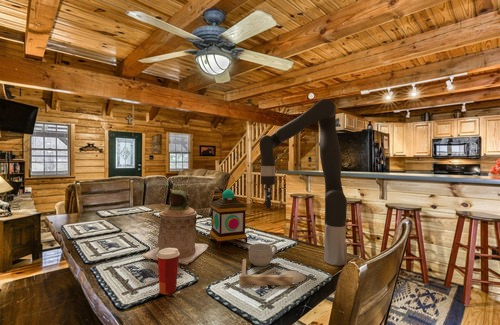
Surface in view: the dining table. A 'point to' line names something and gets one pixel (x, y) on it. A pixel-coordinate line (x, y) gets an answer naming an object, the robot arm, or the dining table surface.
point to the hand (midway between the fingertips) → (267, 206)
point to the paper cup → (168, 270)
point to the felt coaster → (295, 276)
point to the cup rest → (264, 278)
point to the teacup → (261, 254)
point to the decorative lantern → (228, 219)
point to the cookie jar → (178, 229)
